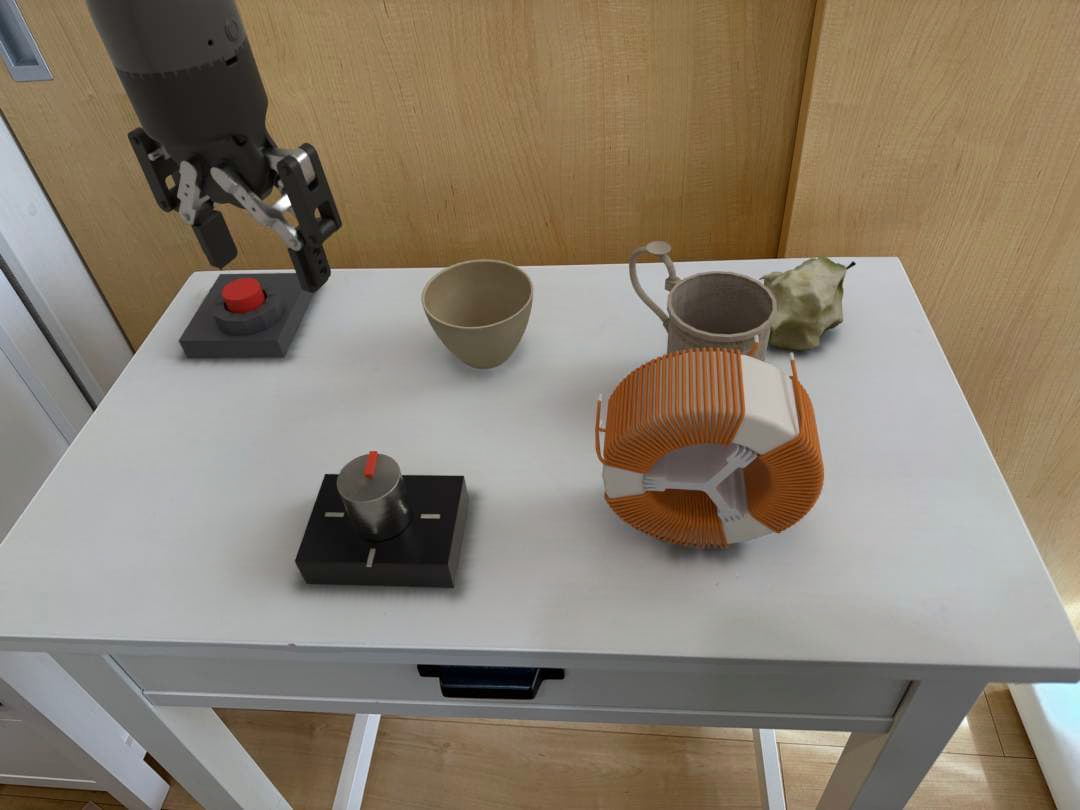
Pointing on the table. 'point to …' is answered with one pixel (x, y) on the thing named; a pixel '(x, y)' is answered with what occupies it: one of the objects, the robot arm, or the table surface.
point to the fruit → (806, 302)
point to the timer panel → (399, 561)
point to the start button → (243, 295)
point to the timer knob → (375, 496)
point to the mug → (710, 308)
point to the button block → (247, 320)
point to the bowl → (479, 310)
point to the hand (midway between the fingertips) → (270, 273)
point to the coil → (710, 448)
